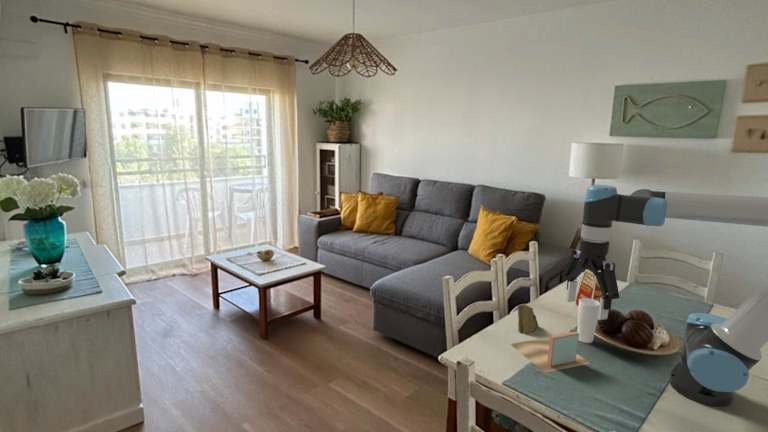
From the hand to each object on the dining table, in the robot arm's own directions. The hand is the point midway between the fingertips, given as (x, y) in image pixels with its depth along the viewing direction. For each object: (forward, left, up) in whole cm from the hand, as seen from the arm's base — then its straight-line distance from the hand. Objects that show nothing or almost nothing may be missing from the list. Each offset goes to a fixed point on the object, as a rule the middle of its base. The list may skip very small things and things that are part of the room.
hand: (585, 309), depth 123 cm
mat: (+13, 0, -22) cm, 26 cm away
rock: (+30, -5, -23) cm, 38 cm away
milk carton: (+38, -42, -22) cm, 61 cm away
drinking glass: (+17, -19, -22) cm, 34 cm away
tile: (+7, 0, -22) cm, 23 cm away
